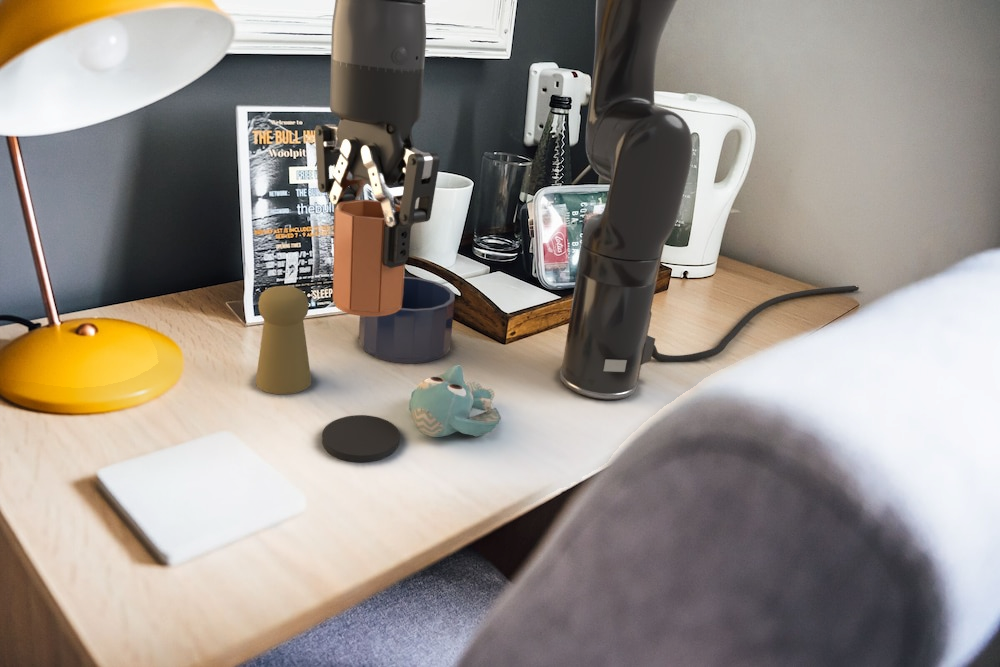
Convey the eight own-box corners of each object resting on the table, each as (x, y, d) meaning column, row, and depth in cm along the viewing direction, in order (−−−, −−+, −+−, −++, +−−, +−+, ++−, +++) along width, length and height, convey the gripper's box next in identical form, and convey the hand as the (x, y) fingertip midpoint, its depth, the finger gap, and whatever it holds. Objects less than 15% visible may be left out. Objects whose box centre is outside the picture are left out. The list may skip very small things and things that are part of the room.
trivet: (367, 414, 82) (367, 407, 81) (415, 444, 77) (415, 437, 77) (306, 437, 76) (306, 430, 76) (354, 471, 72) (354, 464, 72)
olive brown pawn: (297, 398, 83) (297, 304, 79) (245, 388, 84) (243, 294, 80) (320, 375, 89) (322, 285, 84) (271, 365, 89) (270, 276, 85)
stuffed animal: (533, 371, 83) (476, 390, 73) (519, 432, 85) (461, 459, 74) (452, 341, 88) (387, 355, 78) (440, 399, 90) (375, 421, 79)
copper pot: (373, 287, 75) (377, 196, 72) (415, 307, 72) (422, 213, 68) (320, 299, 71) (321, 204, 67) (362, 322, 67) (366, 222, 64)
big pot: (408, 318, 107) (412, 271, 104) (468, 348, 100) (473, 298, 97) (340, 338, 98) (342, 287, 96) (400, 371, 92) (404, 317, 89)
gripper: (473, 72, 61) (454, 271, 68) (359, 49, 70) (353, 228, 76) (401, 70, 56) (389, 286, 62) (287, 46, 64) (287, 238, 71)
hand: (369, 254), depth 69 cm, fingers closed on copper pot, 6 cm apart
